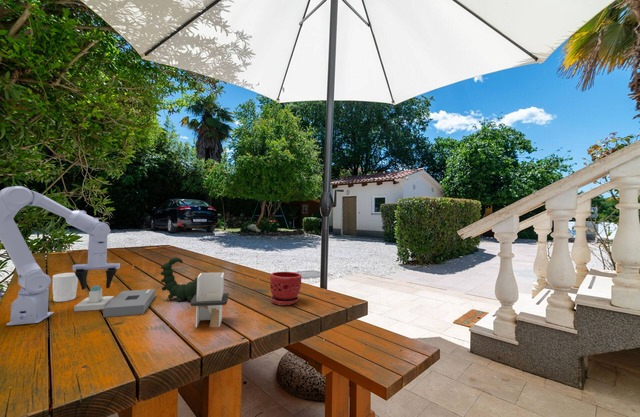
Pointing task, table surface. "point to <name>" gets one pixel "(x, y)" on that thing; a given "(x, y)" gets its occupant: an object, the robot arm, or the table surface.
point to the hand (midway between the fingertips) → (96, 288)
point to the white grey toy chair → (210, 298)
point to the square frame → (93, 304)
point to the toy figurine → (172, 286)
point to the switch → (129, 303)
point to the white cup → (64, 287)
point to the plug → (95, 294)
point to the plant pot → (285, 287)
